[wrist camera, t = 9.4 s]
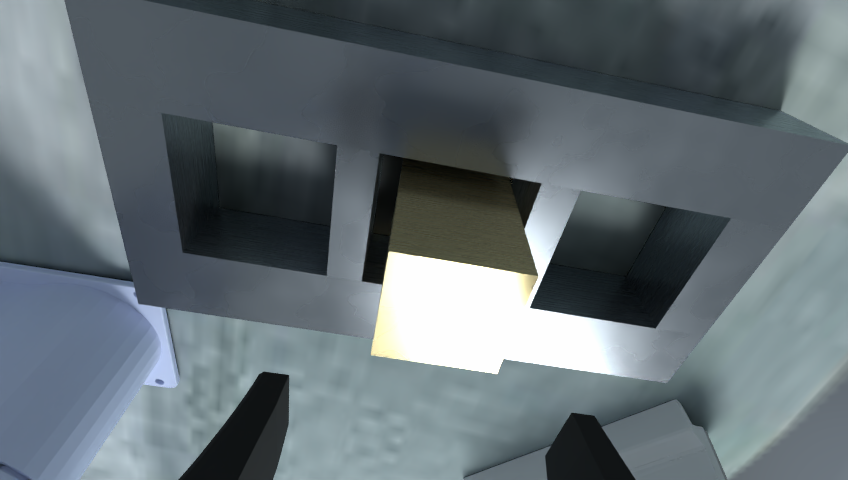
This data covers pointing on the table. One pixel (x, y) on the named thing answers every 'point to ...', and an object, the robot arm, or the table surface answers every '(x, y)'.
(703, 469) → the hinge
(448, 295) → the brass block
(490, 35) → the table surface
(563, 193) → the grey block holder
